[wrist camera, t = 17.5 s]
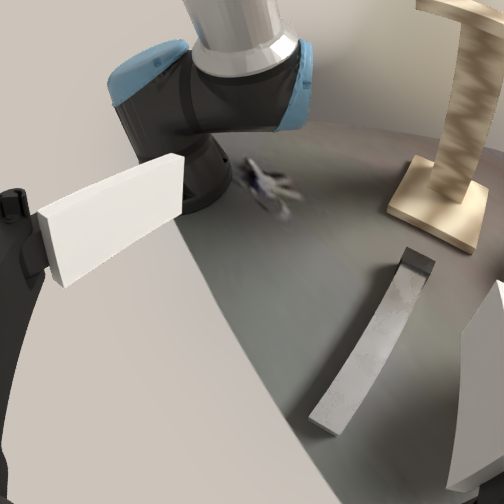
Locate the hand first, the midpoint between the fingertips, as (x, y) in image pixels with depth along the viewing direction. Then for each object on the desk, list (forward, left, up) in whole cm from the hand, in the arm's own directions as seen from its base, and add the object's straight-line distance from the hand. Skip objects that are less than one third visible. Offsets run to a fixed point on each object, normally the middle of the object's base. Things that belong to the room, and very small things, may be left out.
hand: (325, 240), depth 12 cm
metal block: (+4, +8, -25) cm, 26 cm away
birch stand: (+4, +33, -24) cm, 41 cm away
